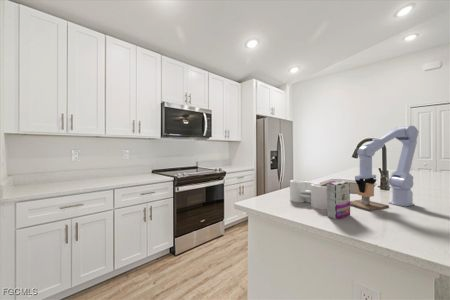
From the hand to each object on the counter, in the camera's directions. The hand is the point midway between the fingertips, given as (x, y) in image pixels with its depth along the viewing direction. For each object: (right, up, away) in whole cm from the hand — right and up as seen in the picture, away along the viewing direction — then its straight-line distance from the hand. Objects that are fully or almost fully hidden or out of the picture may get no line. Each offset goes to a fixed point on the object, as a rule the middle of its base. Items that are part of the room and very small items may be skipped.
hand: (365, 191), depth 113 cm
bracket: (-29, -8, +6) cm, 31 cm away
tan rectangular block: (0, -2, 0) cm, 2 cm away
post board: (0, -8, 0) cm, 8 cm away
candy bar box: (-24, -9, -15) cm, 30 cm away
